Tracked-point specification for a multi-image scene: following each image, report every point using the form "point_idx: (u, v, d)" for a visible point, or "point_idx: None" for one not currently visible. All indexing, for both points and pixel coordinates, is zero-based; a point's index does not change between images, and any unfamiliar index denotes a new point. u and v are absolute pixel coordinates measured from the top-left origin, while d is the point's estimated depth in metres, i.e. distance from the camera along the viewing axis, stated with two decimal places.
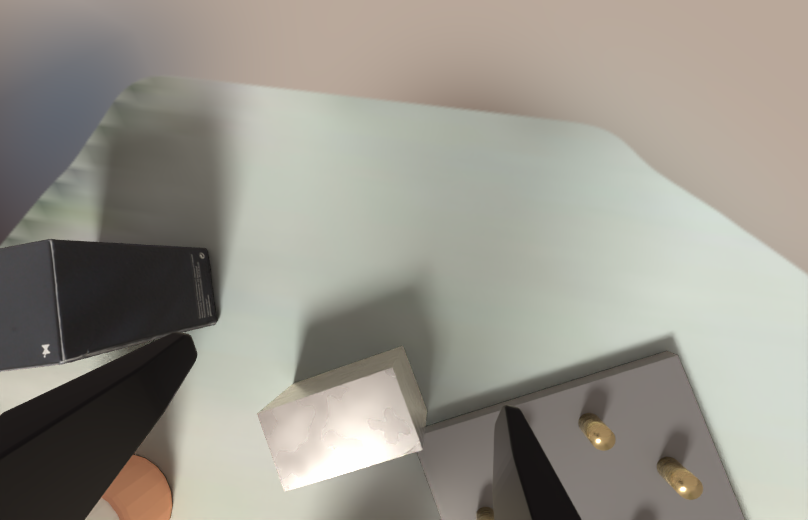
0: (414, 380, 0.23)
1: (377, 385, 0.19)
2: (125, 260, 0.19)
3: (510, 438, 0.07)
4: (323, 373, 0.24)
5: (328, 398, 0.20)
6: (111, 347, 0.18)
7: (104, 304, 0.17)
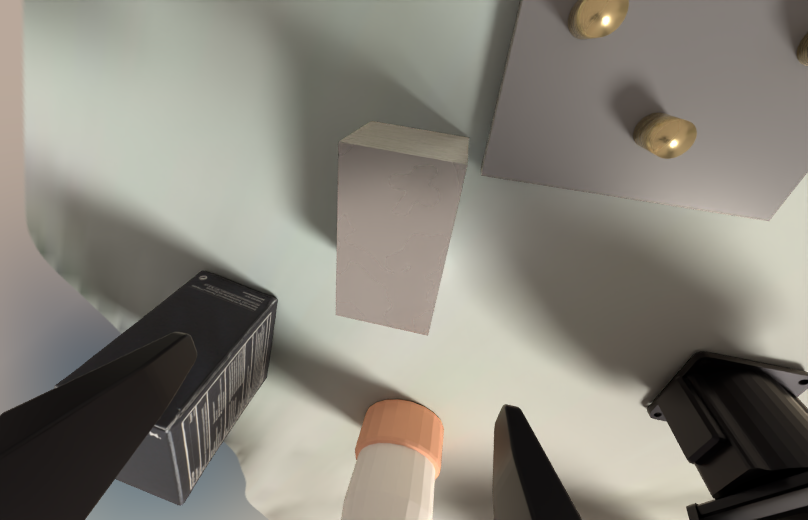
0: (418, 130, 0.16)
1: (354, 175, 0.13)
2: (135, 340, 0.19)
3: (510, 438, 0.07)
4: None
5: (348, 241, 0.15)
6: (197, 390, 0.18)
7: None
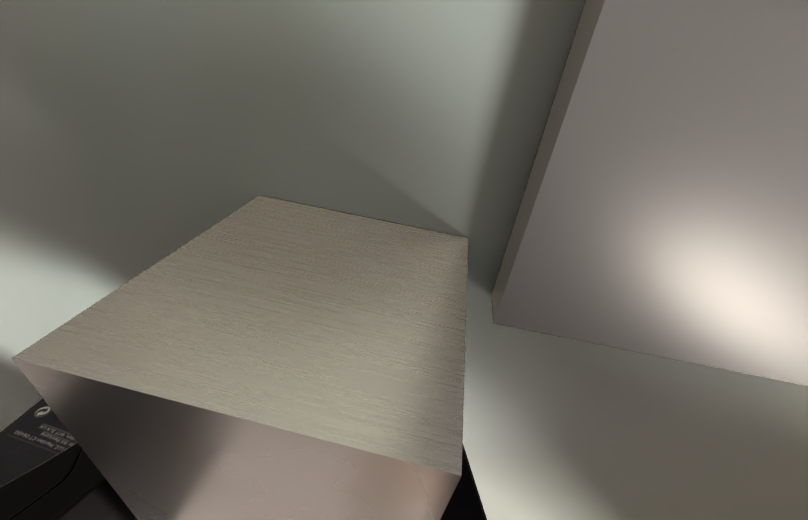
0: (352, 228, 0.07)
1: (109, 433, 0.04)
2: None
3: None
4: None
5: None
6: None
7: None
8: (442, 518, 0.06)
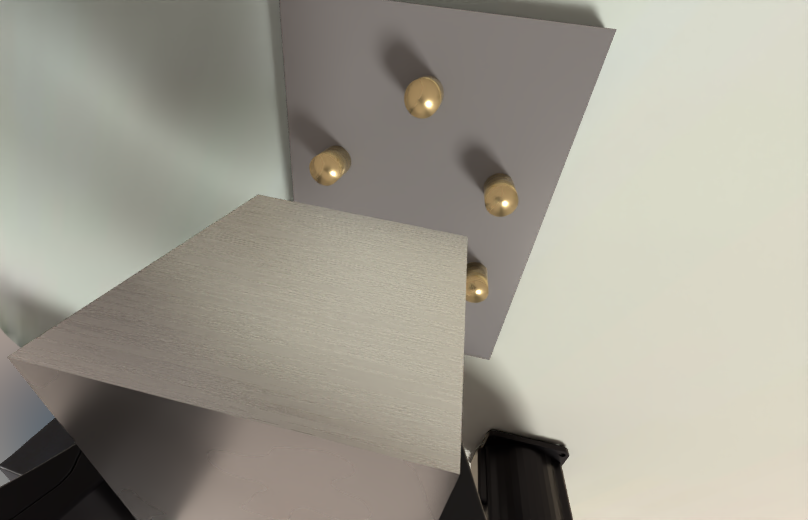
0: (351, 227, 0.07)
1: (106, 432, 0.04)
2: None
3: None
4: None
5: None
6: None
7: None
8: (442, 518, 0.06)
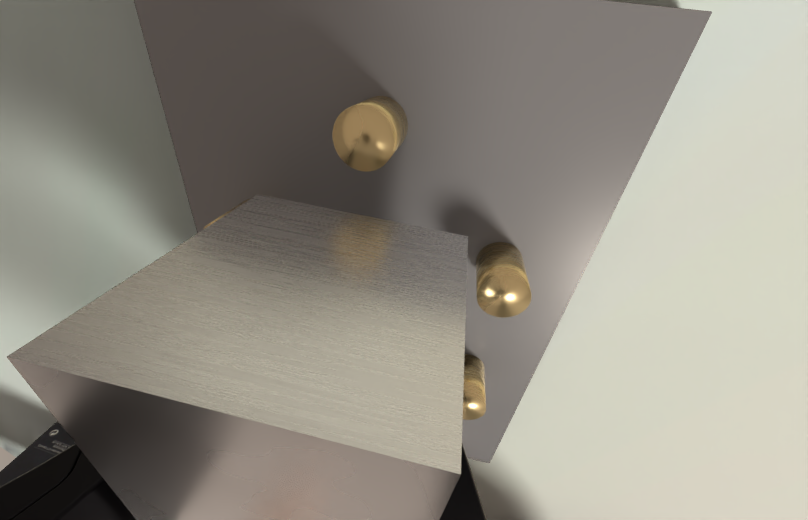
0: (351, 226, 0.07)
1: (106, 432, 0.04)
2: None
3: None
4: None
5: None
6: None
7: None
8: (442, 518, 0.06)
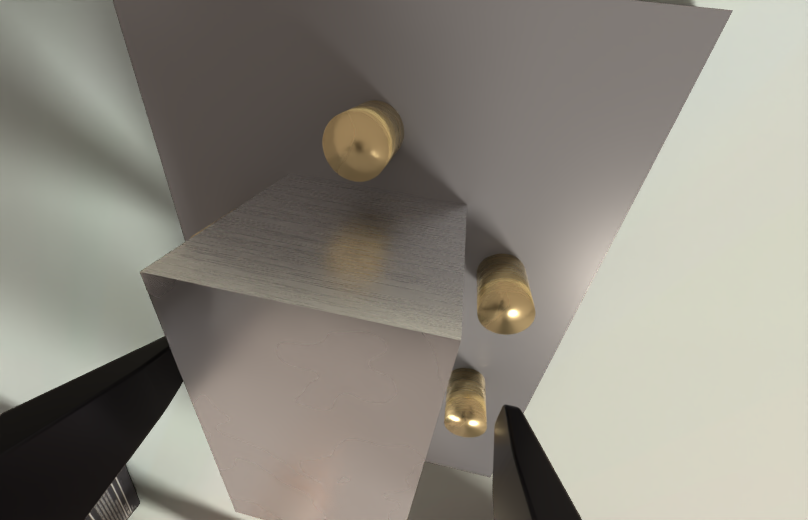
0: (370, 197, 0.08)
1: (199, 336, 0.06)
2: None
3: (510, 438, 0.07)
4: None
5: (223, 431, 0.07)
6: None
7: None
8: None
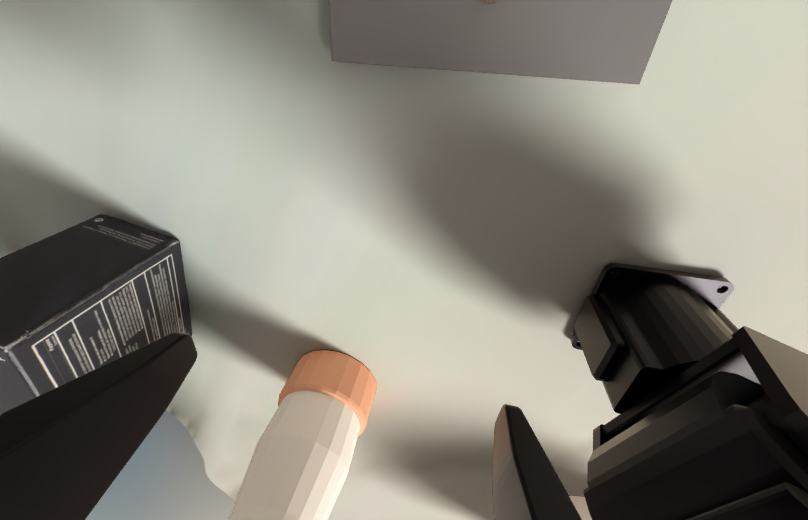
0: None
1: None
2: None
3: (510, 438, 0.07)
4: None
5: None
6: (56, 315, 0.17)
7: (7, 301, 0.16)
8: None
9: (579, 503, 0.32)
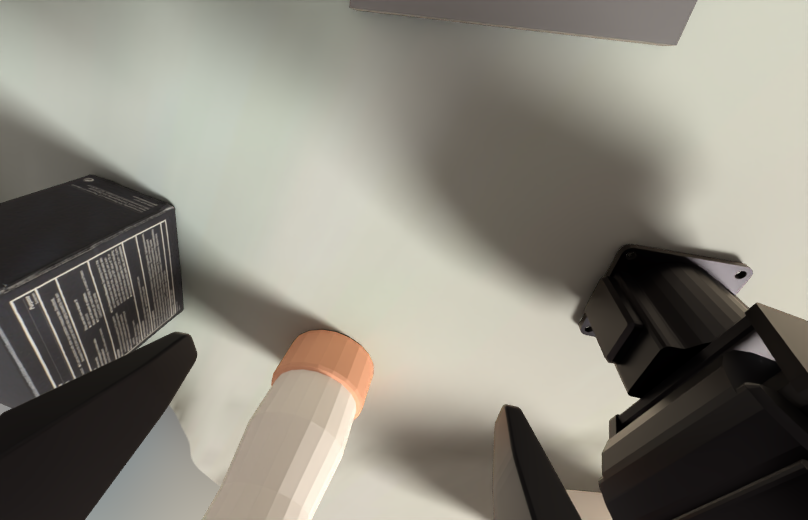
0: None
1: None
2: None
3: (510, 438, 0.07)
4: None
5: None
6: (38, 271, 0.15)
7: None
8: None
9: (574, 497, 0.31)
